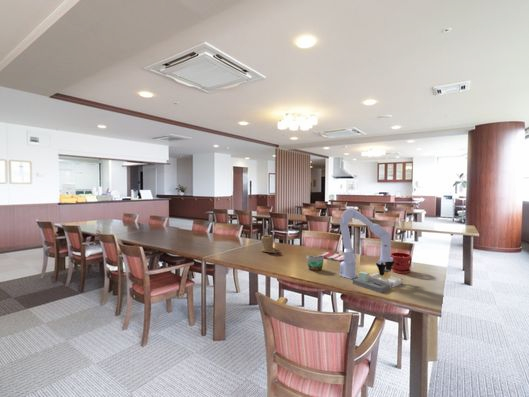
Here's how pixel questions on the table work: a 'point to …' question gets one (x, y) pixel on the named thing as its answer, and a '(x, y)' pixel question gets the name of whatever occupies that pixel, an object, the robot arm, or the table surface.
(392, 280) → the parts tray
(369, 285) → the grey flat slab
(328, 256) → the dish towel
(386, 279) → the fuse
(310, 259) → the food container
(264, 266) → the table surface
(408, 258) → the plant pot
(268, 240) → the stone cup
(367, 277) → the fuse
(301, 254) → the table surface
